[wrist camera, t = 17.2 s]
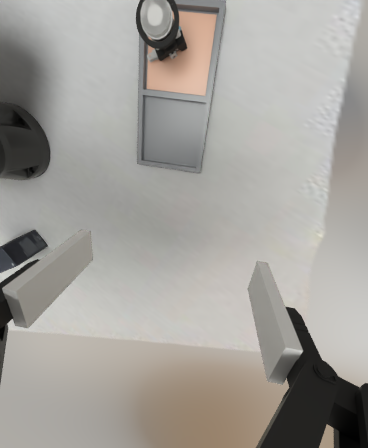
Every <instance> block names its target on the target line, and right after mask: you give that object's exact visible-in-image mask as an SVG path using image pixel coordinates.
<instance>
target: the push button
mask: <svg viewBox="0 0 368 448" xmlns="http://www.w3.org/2000/svg"><path fill="white" fill-rule="evenodd" d="M171 9H172V10H171ZM172 11H173V13H174V19H173V16H172ZM136 24H137V29H138V32H139V34H140V36H141V38H142V39H143V41H144V42H145V43H146V44H147V45H149V46H150V47H152V48H155V49H154V50H152V52H151V53H149V54H148V55H147V58H148V60H149V61H150V62H153V61H154V60H158V59H159V60H160V61H162V60H164V59H165V58H167V57H169V56H170V57H171V59H174V58H175V57H177V56H178V55H177V53H176V52H177V51H179V50H181V51H184V50H186V49H187V45H186V42H185V39H184V36H183V33H182V30H181V27H180V26H179V12H178V8H177V5H176V2H175V1H174V0H140V2H139V4H138V7H137V12H136ZM146 34H147V35H146ZM147 36H149V37H150V38H151V39H152V40H150V39H149V38H148V37H147ZM150 55H151V56H150ZM174 56H175V57H174ZM151 59H153V60H151Z"/></svg>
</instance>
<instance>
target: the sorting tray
mask: <svg viewBox="0 0 368 448" xmlns="http://www.w3.org/2000/svg"><path fill="white" fill-rule="evenodd" d="M174 1H175V2H176V5H177V8H178V12H179V26H180V27H181V30H182V33H183V36H184V39H185V42H186V45H187V49H186V50H184V51H181V50H179V51H177V52H176V53H177V55H178V56H177V57H175V56H174V57H175V58H174V59H171V57H170V56H169V57H167V58H165V59H164V60H162V61H160V60H159V59H158V60H154V61H153V62H150V61H149V60H148V58H147V55H148V54H149V53H151V52H152V50H154V49H155V48H152V47H150V46H149V45H147V44H146V43H145V42H144V41H143V39H142V38H141V36H140V34H139V85H138V144H137V164H141V165H148V166H155V167H161V168H168V169H175V170H181V171H188V172H195V173H200V171H201V164H202V158H203V151H204V144H205V138H206V131H207V125H208V118H209V112H210V105H211V99H212V92H213V86H214V79H215V73H216V66H217V60H218V53H219V47H220V40H221V34H222V27H223V21H224V14H225V7H226V0H174ZM171 10H172V9H171ZM172 16H173V19H174V13H173V11H172ZM146 35H147V34H146ZM147 37H148V38H149V39H150V40H152V39H151V38H150V37H149V36H147ZM150 56H151V55H150ZM151 60H153V59H151Z"/></svg>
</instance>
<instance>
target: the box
mask: <svg viewBox="0 0 368 448" xmlns="http://www.w3.org/2000/svg"><path fill="white" fill-rule="evenodd" d="M45 247H47V244H46V243H45V242H44V241H43V239H42V238H41V237H40V236H39V234H38V233H37V232H36V231H35V230H33V231H31V232H29V233H27V234H25V235H22V236H20V237H18V238H16V239H14V240H12V241H10V242H8V243H6V244H4V245H2V246H0V273H1V272H4V271H6V270H9V269H11V268H14V267H16V266H18V265H20V264H21V263H23V262H24V261H26V260H27V259H29V258H30V257H32V256H33V255H35V254H36V253H38V252H39V251H41V250H42V249H44V248H45Z"/></svg>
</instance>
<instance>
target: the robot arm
mask: <svg viewBox="0 0 368 448" xmlns="http://www.w3.org/2000/svg"><path fill="white" fill-rule="evenodd" d="M49 159H50V150H49V145H48V141H47V138H46V136H45V134H44V132H43V130H42V128H41V127H40V125H39V124H38V122H37V121H36V120H35V119H34V118H33V117H32V116H31V115H30V114H29V113H28V112H26V111H25V110H24V109H22V108H20V107H18V106H16V105H13V104H10V103H3V102H0V178H4V179H14V180H27V179H31V178H35V177H38V176H40V175H41V174H42V173H43V172H44V171H45V170H46V168H47V166H48V164H49ZM92 260H93V253H92V242H91V232H90V231H86V230H80V231H79V232H78V233H76V234H75V235H73V236H72V237H71V238H69V239H68V240H67V241H65V242H64V243H63V244H61V245H60V246H59V247H57V248H56V249H55V250H53V251H52V252H50V253H49V254H48V255H46V256H45V257H44V258H42V259H41V260H38V259H37V260H35V261H32V262H30V263H28V264H26V265H25V266H23V267H22V268H21V269H20V270H18V271H16V272H15V273H14V274H12V275H11V276H9V277H8V278H7V279H5V280H4V281H2V282H1V283H0V382H1V375H2V368H3V361H4V354H5V346H6V340H7V333H8V325H7V323H8V322H9V321H10V320H11V319H13V321H14V323H15V326H19V327H24V328H29V327H30V326H31V325H32V324H33V323H34V322H35V321H36V320H37V318H38V317H39V316H40V315H41V314H42V313H43V312H44V311H45V310H46V309H47V308H48V307H49V306H50V305H51V304H52V303H53V302H54V300H55V299H56V298H57V297H58V296H59V295H60V294H61V293H62V292H63V291H64V290H65V289H66V288H67V287H68V286H69V285H70V284H71V283H72V281H73V280H74V279H75V278H76V277H77V276H78V275H79V274H80V273H81V272H82V271H83V270H84V269H85V268H86V267H87V266H88V265H89V263H90V262H91V261H92ZM248 292H249V297H250V302H251V307H252V311H253V316H254V321H255V326H256V330H257V335H258V340H259V345H260V349H261V354H262V359H263V364H264V368H265V372H266V378H267V381H268V382H273V383H277V384H283V383H284V382H285V380H286V378H287V381H288V384H289V389H288V390H287V392H286V393H285V395H284V397H283V399H282V401H281V403H280V405H279V407H278V409H277V410H276V412H275V414H274V416H273V418H272V419H271V421H270V423H269V425H268V427H267V429H266V430H265V432H264V434H263V436H262V438H261V439H260V441H259V443H258V445H257V447H256V448H319V445H320V443H321V439H322V436H323V434H324V430H325V428H326V424H328V425H330V426H331V427H333V428H334V448H368V383H365V384H363V385H362V386H361V387H360V388H359V387H358V386H355V385H354V384H352V383H350V382H348V381H346V380H344V379H342V378H340V377H338V376H337V374H336V372H335V371H334V370H333V368H332V367H331V366H329V364H327V363H326V362H325V361H323V360H322V359H321V357H320V355H319V352H318V350H317V349H316V346H315V344H314V342H313V340H312V338H311V336H310V333H308V329H307V327H306V326H305V323H304V321H303V318H302V316H301V315H300V314H299V313H298V312H297V311H296V309H295V308H290V307H285V305H284V302H283V300H282V297H281V295H280V292H279V290H278V287H277V285H276V282H275V280H274V277H273V275H272V272H271V270H270V267H269V265H268V263H266V262H260V261H257V263H256V266H255V269H254V272H253V275H252V278H251V281H250V284H249V287H248Z"/></svg>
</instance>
